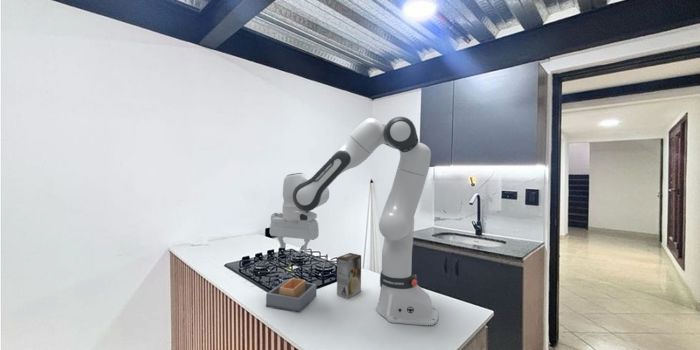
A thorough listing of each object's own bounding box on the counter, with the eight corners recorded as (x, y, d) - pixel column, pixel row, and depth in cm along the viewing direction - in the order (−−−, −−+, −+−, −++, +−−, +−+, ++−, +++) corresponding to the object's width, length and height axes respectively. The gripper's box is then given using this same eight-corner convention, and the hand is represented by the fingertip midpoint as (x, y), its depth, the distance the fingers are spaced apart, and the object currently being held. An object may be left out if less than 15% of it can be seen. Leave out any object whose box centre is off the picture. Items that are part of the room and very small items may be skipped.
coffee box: (349, 288, 126) (350, 252, 126) (361, 292, 122) (362, 255, 122) (336, 295, 119) (336, 257, 119) (348, 299, 115) (349, 260, 115)
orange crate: (305, 294, 116) (305, 280, 116) (293, 305, 107) (293, 289, 107) (292, 292, 118) (292, 278, 118) (279, 303, 109) (279, 287, 109)
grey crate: (316, 296, 118) (316, 284, 118) (299, 313, 103) (299, 299, 103) (286, 291, 122) (286, 279, 122) (266, 306, 107) (266, 293, 107)
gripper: (266, 213, 112) (266, 248, 112) (313, 216, 106) (313, 253, 106) (275, 211, 118) (274, 244, 118) (320, 214, 112) (320, 249, 112)
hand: (293, 248), depth 112 cm, fingers open, 8 cm apart
